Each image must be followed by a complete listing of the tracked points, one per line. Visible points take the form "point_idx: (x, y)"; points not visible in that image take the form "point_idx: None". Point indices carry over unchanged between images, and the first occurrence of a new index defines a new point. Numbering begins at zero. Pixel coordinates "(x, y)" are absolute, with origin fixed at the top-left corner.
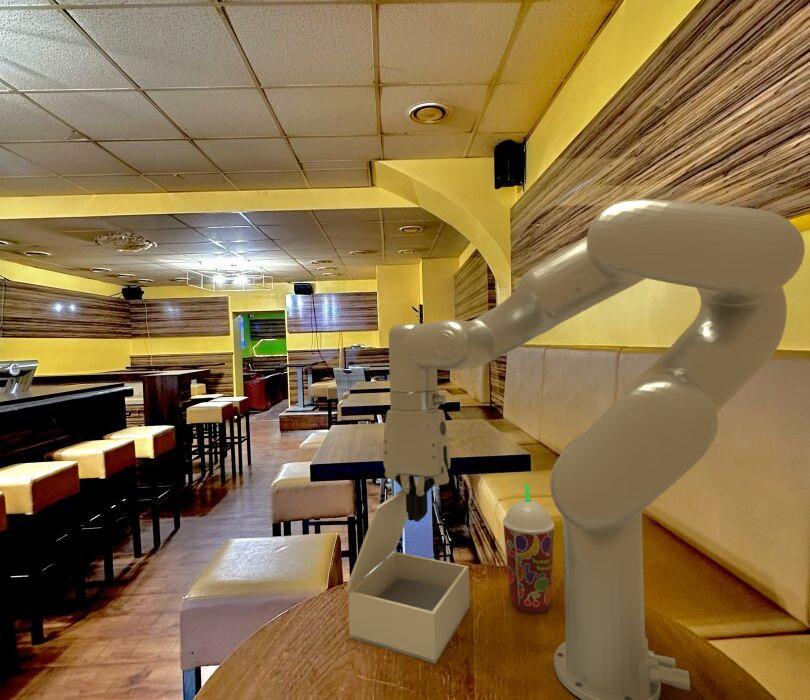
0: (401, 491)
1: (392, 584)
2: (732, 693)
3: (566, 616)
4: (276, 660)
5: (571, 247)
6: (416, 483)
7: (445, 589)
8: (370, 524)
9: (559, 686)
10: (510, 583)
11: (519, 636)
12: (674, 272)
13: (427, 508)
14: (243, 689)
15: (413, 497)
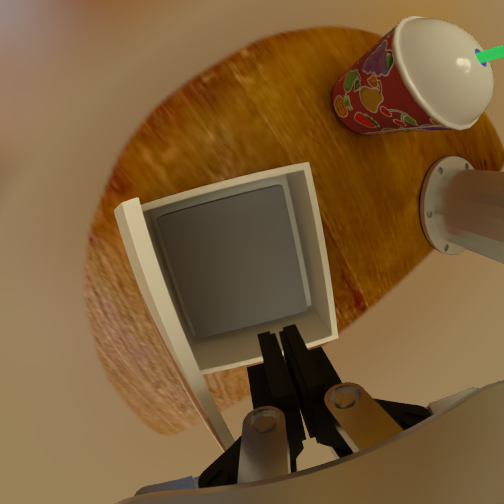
0: (221, 434)
1: (150, 225)
2: (500, 170)
3: (474, 240)
4: (165, 399)
5: None
6: (166, 293)
7: (257, 191)
8: None
9: (427, 246)
10: (356, 121)
11: (376, 191)
12: None
13: (323, 351)
14: (182, 427)
15: (311, 436)
